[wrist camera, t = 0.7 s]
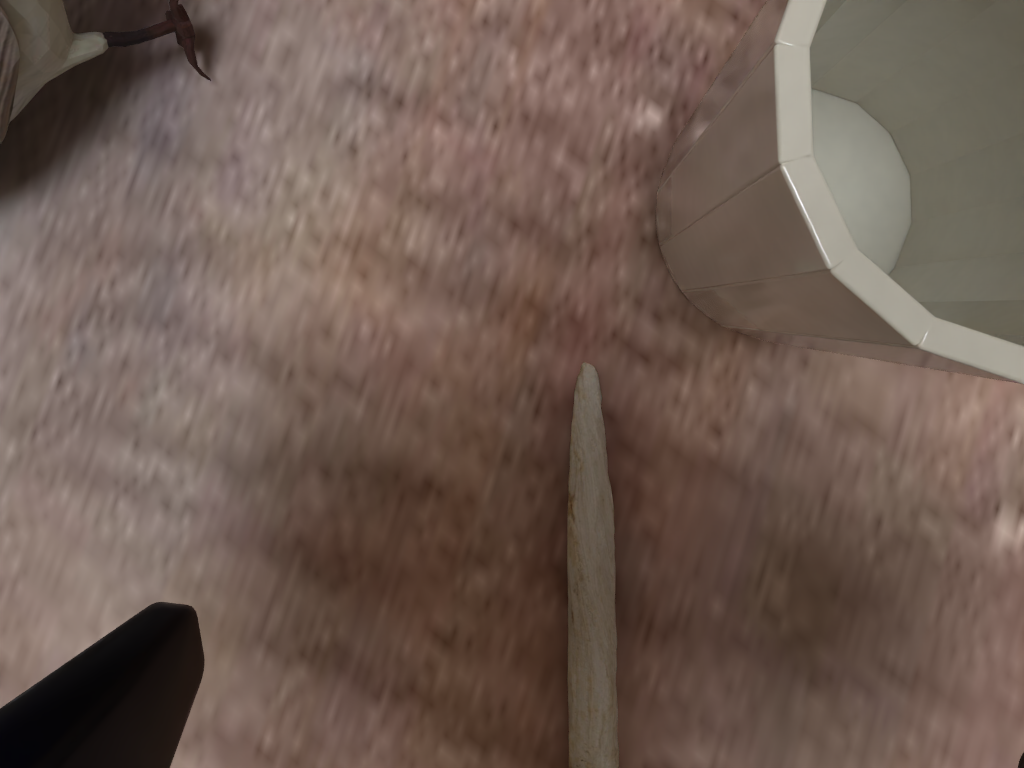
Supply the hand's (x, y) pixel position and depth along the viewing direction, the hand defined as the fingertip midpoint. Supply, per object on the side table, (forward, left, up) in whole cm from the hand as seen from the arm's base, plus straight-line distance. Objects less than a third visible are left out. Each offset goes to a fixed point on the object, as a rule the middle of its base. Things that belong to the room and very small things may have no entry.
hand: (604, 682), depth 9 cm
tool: (-6, 0, -14) cm, 15 cm away
